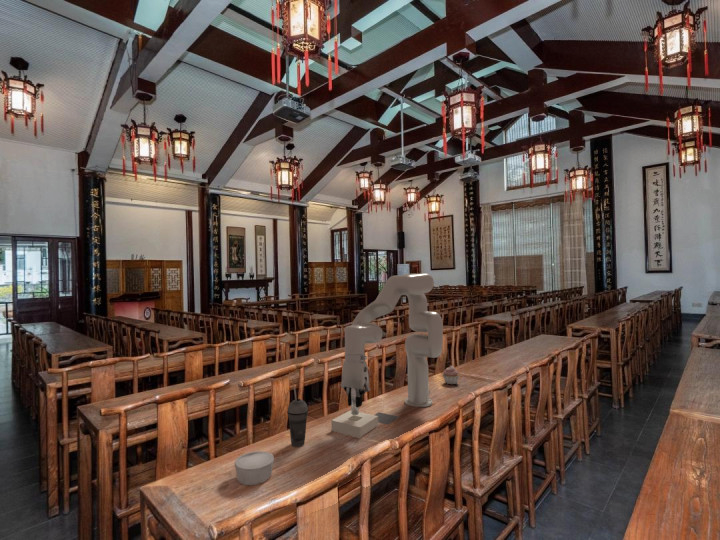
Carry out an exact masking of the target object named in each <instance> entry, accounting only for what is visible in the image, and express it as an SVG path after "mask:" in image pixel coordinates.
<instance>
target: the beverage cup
mask: <svg viewBox="0 0 720 540" xmlns="http://www.w3.org/2000/svg"><path fill="white" fill-rule="evenodd" d="M293 391H294V393H293V394H294V399H293V400H292V401H291V402H290V403H289V405H288V407H287V416H288V423H289V435H290V443H291V447H293V448H301V447H303V446H305V442H306V432H307V431H306V430H307V420H308V415H309V414H308V413H309V408H308V405H307V403H306V402H305V400H303V399H302V398H297V392H296V386H293Z"/></svg>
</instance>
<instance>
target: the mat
mask: <svg viewBox="0 0 720 540" xmlns="http://www.w3.org/2000/svg"><path fill="white" fill-rule="evenodd" d="M374 415H375V416H378V424H383V425H390V424H391V423H393V422H394V421H396V420H397V419H398V418H399V419H400V416H399V415H394V414H388V413H384V412H380V411H378V412H377V413H375V414H374Z"/></svg>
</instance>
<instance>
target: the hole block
mask: <svg viewBox="0 0 720 540" xmlns="http://www.w3.org/2000/svg"><path fill="white" fill-rule="evenodd" d="M378 426H379V423H378V416H375V414H370V413H366V412H362V411H359V414H358V415H352V414H351V409H350V410H348V411H347V412H346V411H345V412H344V413H343V414H341V415H339V416H337V417H335V418H333V419H331V431H332V432H335V433H338V434H342V435H344V436H345V435H346V436H349V437H354V438H358V439H362V438H363V436H364V435H366V434H368V433H369V432H371V431H372V430H373V429H375V428H376V427H378Z"/></svg>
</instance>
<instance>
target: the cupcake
mask: <svg viewBox="0 0 720 540" xmlns="http://www.w3.org/2000/svg"><path fill="white" fill-rule="evenodd" d="M441 375H442V377H443V379H444V383H445V384H446V383H447V384H446V385H448V384H451V385H450V386H453V385H452V384H456V385H458V382H459V378H460V376H461V375H460V374H459V372H458V370H457V369H456V368H455V367H454V366H453V365H449V367H446V368H445V369H444V371H443V373H442V374H441Z"/></svg>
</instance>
